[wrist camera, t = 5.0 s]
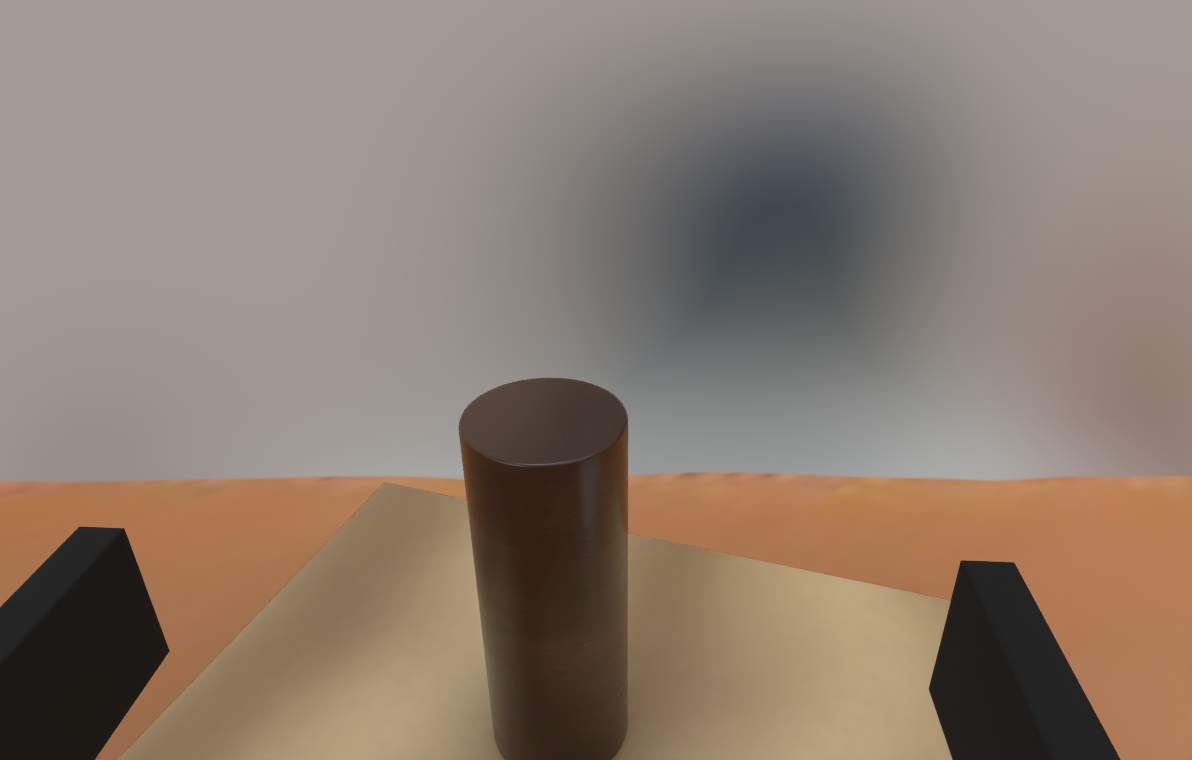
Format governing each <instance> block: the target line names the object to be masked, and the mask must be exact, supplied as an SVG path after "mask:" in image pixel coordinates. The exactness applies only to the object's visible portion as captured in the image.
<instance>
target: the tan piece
mask: <svg viewBox="0 0 1192 760" xmlns="http://www.w3.org/2000/svg"><path fill="white" fill-rule="evenodd" d="M459 436H460V444H461V453H462V462H463V471H464V480H465V488H466V497H467V499H462V498H457V497H453V496H448V495H443V494H438V493H433V492H429V491H424V490H419V489H414V488H409V487H405V486H400V485H395V484H390V483H383V484H382V485H381V487H380V488H379V489H378V490H377V491H376V492H375V493H374V494H373V495H372V496H371V497H370V498H369V499H368V500H367V501H366V502H365V503H364V504H363V505H362V506H361V507H360V508H359V509H358V510H357V511H356V512H355V513H354V515H353V516H352V517H351V518H350V519H349V520H348V521H347V522H346V523H345V524H344V525H343V526H342V527H341V528H340V529H339V530H338V531H337V532H336V533H335V534H334V535H333V536H332V537H331V538H330V539H329V540H328V541H327V543H326V544H325V545H324V546H323V547H322V548H321V549H320V550H319V551H318V552H317V553H316V554H315V555H314V556H313V557H312V558H311V559H310V560H309V561H308V562H307V563H306V564H305V565H304V566H303V567H302V568H301V569H300V571H299V572H298V573H297V574H296V575H295V576H294V577H293V578H292V579H291V580H290V581H289V582H288V583H287V584H286V585H285V586H284V587H283V588H282V589H281V590H280V591H279V592H278V593H277V594H276V595H275V596H274V597H273V599H272V600H271V601H270V602H269V603H268V604H267V605H266V606H265V607H264V608H263V609H262V610H261V611H260V612H259V613H258V614H257V615H256V616H255V617H254V618H253V619H252V620H251V621H250V622H249V623H248V624H247V625H246V626H245V628H244V629H243V630H242V631H241V632H240V633H239V634H238V635H237V636H236V637H235V638H234V639H233V640H232V641H231V642H230V643H229V644H228V645H227V646H226V647H225V648H224V649H223V650H222V651H221V652H220V653H219V654H218V656H217V657H216V658H215V659H214V660H213V661H212V662H211V663H210V664H209V665H208V666H207V667H206V668H205V669H204V670H203V671H202V672H201V673H200V674H199V675H198V676H197V677H196V678H195V679H194V680H193V681H192V682H191V684H190V685H189V686H188V687H187V688H186V689H185V690H184V691H183V692H182V693H181V694H180V695H179V696H178V697H177V698H176V699H175V700H174V701H173V702H172V703H171V704H170V705H169V706H168V707H167V708H166V709H165V710H164V712H163V713H162V714H161V715H160V716H159V717H158V718H157V719H156V720H155V721H154V722H153V723H152V724H151V725H150V726H149V727H148V728H147V729H146V730H145V731H144V732H143V733H142V734H141V735H140V736H139V737H138V738H137V740H136V741H135V742H134V743H133V744H132V745H131V746H130V747H129V748H128V749H127V750H126V751H125V752H124V753H123V754H122V755H121V756H120V757H119V758H118V759H117V760H952V757H951V754H950V751H949V748H948V745H947V742H946V739H945V736H944V733H943V730H942V727H941V724H940V721H939V718H938V715H937V713H936V710H935V707H934V704H933V701H932V698H931V695H930V692H929V685H930V681H931V677H932V673H933V670H934V666H935V662H936V658H937V654H938V650H939V646H940V642H941V638H942V634H943V630H944V626H945V622H946V618H947V614H948V610H949V606H950V602H951V600H946V599H942V598H937V597H932V596H927V595H922V594H918V593H913V592H908V591H903V590H898V589H894V588H889V587H884V586H879V585H874V584H870V583H865V582H860V581H855V580H850V579H846V578H841V577H836V576H831V575H826V574H822V573H817V572H812V571H807V570H803V569H798V568H793V567H788V566H783V565H779V564H774V563H769V562H764V561H759V560H755V559H750V558H745V557H740V556H735V555H731V554H726V553H721V552H716V551H711V550H707V549H702V548H697V547H692V546H687V545H683V544H678V543H673V542H668V541H663V540H659V539H654V538H649V537H644V536H640V535H635V534H630V533H628V415H627V412H626V409H625V408H624V406H623V404H622V403H621V401H620V400H619V399H618V398H617V397H615V396H614V395H613V394H612V393H610V392H609V391H607V390H605V389H603V388H601V387H599V386H596V385H593V384H591V383H587V382H583V381H578V380H573V379H565V378H536V379H528V380H521V381H517V382H512V383H509V384H505V385H502V386H499V387H497V388H495V389H492V390H490V391H488V392H486V393H484V394H482V395H480V396H479V397H478V398H477V399H475V400H474V401H472V402H471V403H470V404H469V405H468V406H467V408H466V409H465V410H464V412H463V414H462V416H461V418H460V422H459Z"/></svg>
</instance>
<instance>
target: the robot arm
mask: <svg viewBox="0 0 1192 760" xmlns="http://www.w3.org/2000/svg"><path fill="white" fill-rule="evenodd" d="M168 653H169V648H168V646H167V643H166V640H165V638H164V635H163V632H162V629H161V627H160V624H159V621H158V619H157V616H156V613H155V610H154V608H153V605H152V602H151V600H150V597H149V594H148V591H147V589H146V586H145V583H144V581H143V578H142V575H141V573H140V570H139V567H138V564H137V562H136V559H135V556H134V554H133V551H132V548H131V545H130V543H129V540H128V537H127V535H126V532H125V529H124V528H98V527H79V528H78V529H77V530H76V531H75V532H74V533H73V534H72V535H71V536H70V537H69V538H68V539H67V540H66V541H65V542H64V543H63V544H62V545H61V546H60V547H59V548H58V549H57V550H56V551H55V552H54V553H53V554H52V555H51V556H50V557H49V558H48V559H47V560H46V561H45V562H44V563H43V564H42V565H41V566H40V567H39V568H38V569H37V570H36V571H35V572H34V573H33V574H32V575H31V577H30V578H29V579H28V580H27V581H26V582H25V583H24V584H23V585H22V586H21V587H20V588H19V589H18V590H17V591H16V592H15V593H14V594H13V595H12V596H11V597H10V598H9V599H8V600H7V601H6V602H5V603H4V604H3V605H2V606H1V607H0V760H95V758H96V757H97V756H98V754H99V753H100V751H101V750H102V748H103V747H104V745H105V744H106V742H107V741H108V740H109V738H110V737H111V735H112V734H113V732H114V731H115V729H116V728H117V727H118V725H119V724H120V722H121V721H122V719H123V718H124V716H125V715H126V713H127V712H128V711H129V709H130V708H131V706H132V705H133V703H134V702H135V700H136V699H137V698H138V696H139V695H140V693H141V692H142V690H143V689H144V687H145V686H146V684H147V683H148V682H149V680H150V679H151V677H152V676H153V674H154V673H155V671H156V670H157V668H158V667H159V666H160V664H161V663H162V661H163V660H164V658H165V657H166V655H167V654H168ZM929 692H930V695H931V698H932V701H933V704H934V707H935V710H936V713H937V715H938V718H939V721H940V724H941V727H942V730H943V733H944V736H945V739H946V742H947V745H948V748H949V751H950V754H951V757H952V760H1120V758H1119V756H1118V754H1117V752H1116V750H1115V749H1114V747H1113V745H1112V743H1111V741H1110V739H1109V737H1108V736H1107V734H1106V732H1105V730H1104V728H1103V726H1102V724H1101V723H1100V721H1099V719H1098V717H1097V715H1096V713H1095V712H1094V710H1093V708H1092V706H1091V704H1090V702H1089V700H1088V699H1087V697H1086V695H1085V693H1084V691H1083V689H1082V687H1081V686H1080V684H1079V682H1078V680H1077V678H1076V676H1075V674H1074V673H1073V671H1072V669H1071V667H1070V665H1069V663H1068V661H1067V660H1066V658H1065V656H1064V654H1063V652H1062V650H1061V648H1060V647H1059V645H1058V643H1057V641H1056V639H1055V637H1054V635H1053V634H1052V632H1051V630H1050V628H1049V626H1048V624H1047V623H1046V621H1045V619H1044V617H1043V615H1042V613H1041V611H1040V610H1039V608H1038V606H1037V604H1036V602H1035V600H1034V598H1033V597H1032V595H1031V593H1030V591H1029V589H1028V587H1027V585H1026V584H1025V582H1024V580H1023V578H1022V576H1021V574H1020V572H1019V571H1018V569H1017V567H1016V565H1015V563H1012V562H986V561H961V563H960V567H959V571H958V575H957V579H956V583H955V587H954V591H953V594H952V598H951V602H950V606H949V610H948V614H947V618H946V622H945V626H944V630H943V634H942V638H941V642H940V646H939V650H938V654H937V658H936V662H935V666H934V670H933V673H932V677H931V681H930V685H929Z"/></svg>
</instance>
